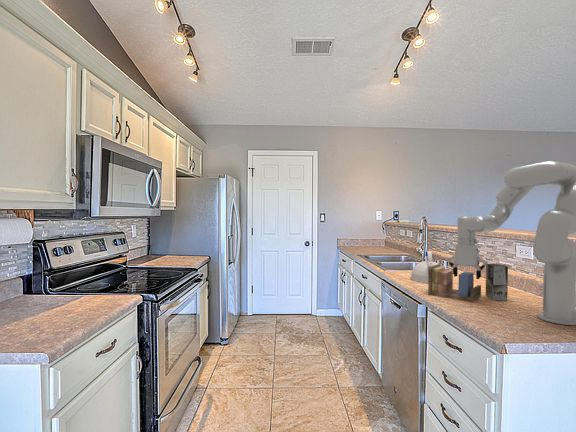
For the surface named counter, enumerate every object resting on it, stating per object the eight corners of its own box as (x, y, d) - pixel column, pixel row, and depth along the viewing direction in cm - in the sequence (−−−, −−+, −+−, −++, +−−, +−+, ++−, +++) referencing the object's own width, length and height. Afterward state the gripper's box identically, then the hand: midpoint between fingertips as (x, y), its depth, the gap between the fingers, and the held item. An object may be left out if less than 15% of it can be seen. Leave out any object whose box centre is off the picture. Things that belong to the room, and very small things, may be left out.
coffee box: (508, 301, 149) (508, 266, 148) (492, 300, 150) (493, 265, 150) (499, 296, 158) (499, 263, 157) (485, 295, 159) (485, 262, 159)
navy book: (473, 293, 157) (473, 272, 157) (467, 297, 150) (467, 275, 149) (464, 291, 160) (464, 271, 159) (458, 295, 152) (458, 274, 152)
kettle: (411, 283, 186) (412, 252, 186) (409, 276, 206) (409, 248, 206) (450, 285, 180) (450, 253, 180) (444, 278, 200) (444, 249, 200)
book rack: (480, 296, 156) (481, 268, 156) (473, 302, 146) (473, 272, 146) (437, 289, 170) (438, 264, 170) (428, 294, 160) (428, 267, 160)
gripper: (489, 242, 151) (489, 278, 151) (449, 240, 163) (449, 274, 163) (485, 243, 146) (485, 281, 146) (444, 241, 157) (445, 276, 157)
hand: (466, 277), depth 154 cm, fingers open, 9 cm apart
